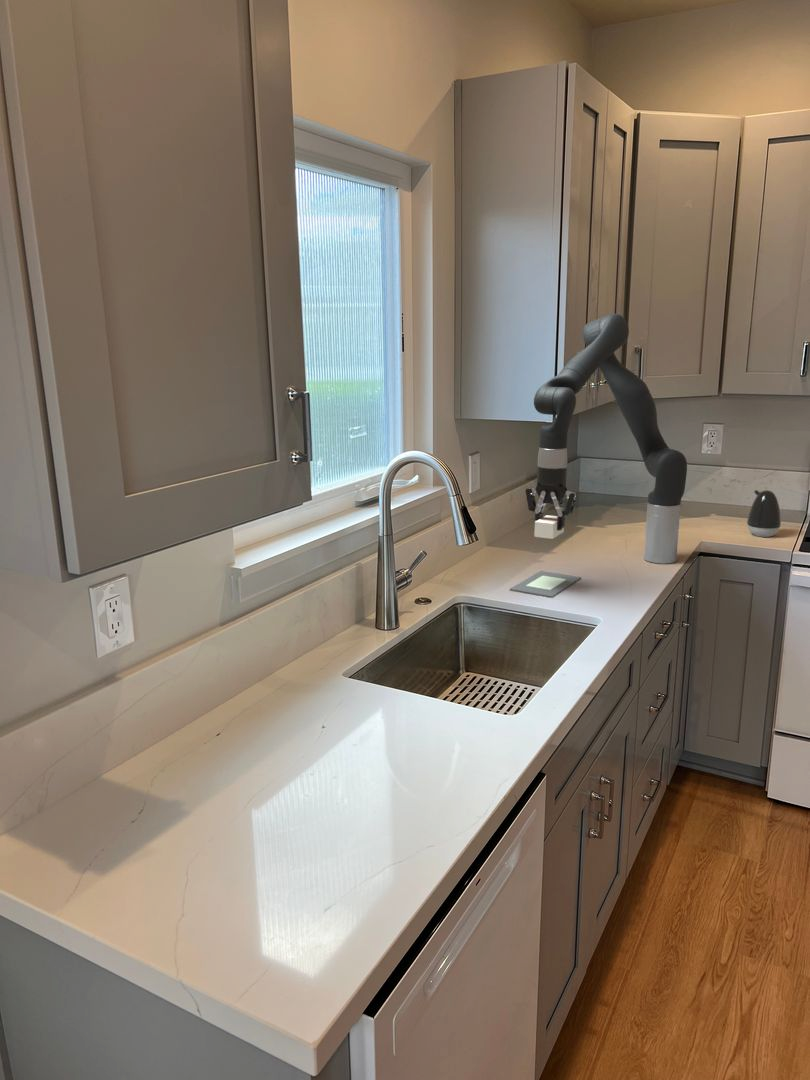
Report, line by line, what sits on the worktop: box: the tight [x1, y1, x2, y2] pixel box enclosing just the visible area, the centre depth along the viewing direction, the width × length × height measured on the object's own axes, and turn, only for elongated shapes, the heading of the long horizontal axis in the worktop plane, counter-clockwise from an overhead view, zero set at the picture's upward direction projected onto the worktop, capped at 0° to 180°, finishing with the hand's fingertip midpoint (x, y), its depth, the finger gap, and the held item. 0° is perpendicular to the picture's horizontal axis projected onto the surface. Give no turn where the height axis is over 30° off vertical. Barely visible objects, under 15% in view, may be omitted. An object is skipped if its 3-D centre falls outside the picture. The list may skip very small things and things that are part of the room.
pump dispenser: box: [746, 489, 782, 538], centre depth 263 cm, size 10×10×15 cm
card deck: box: [533, 514, 565, 540], centre depth 211 cm, size 5×9×4 cm, turn 151°
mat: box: [509, 570, 582, 598], centre depth 215 cm, size 20×12×1 cm, turn 147°
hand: (549, 528), depth 211 cm, fingers closed on card deck, 5 cm apart
